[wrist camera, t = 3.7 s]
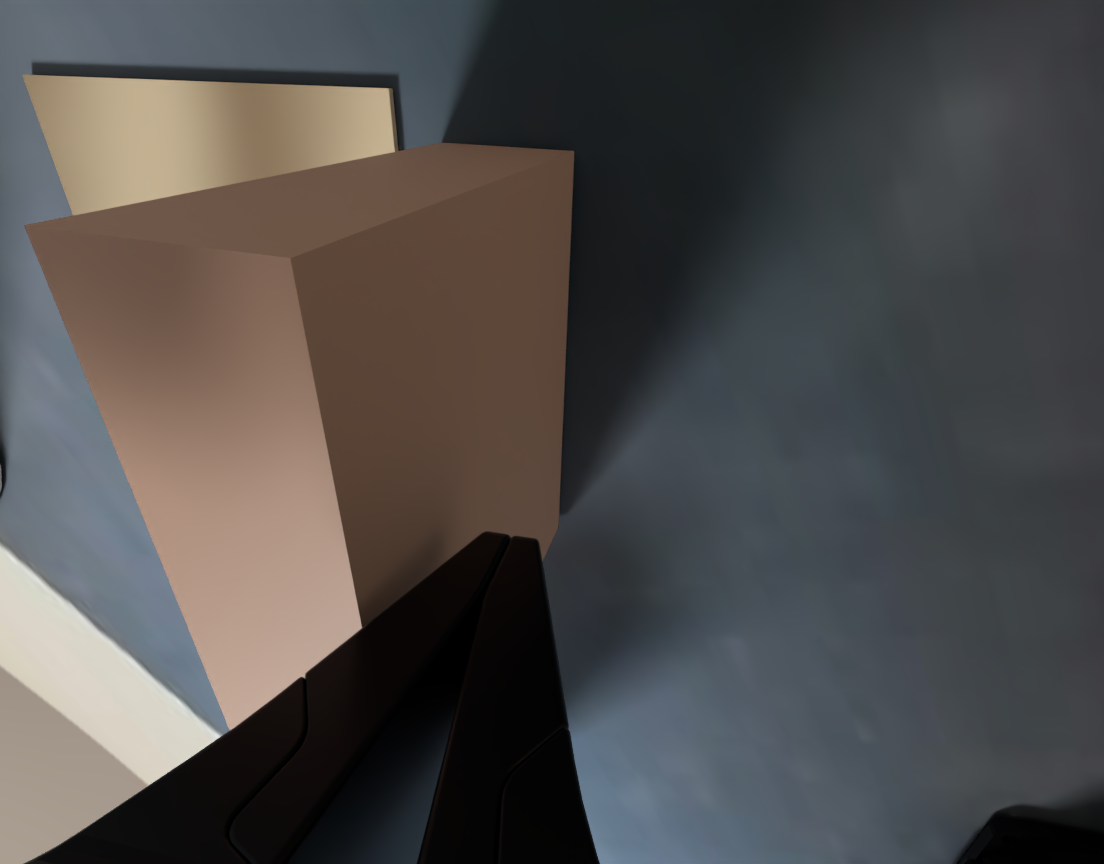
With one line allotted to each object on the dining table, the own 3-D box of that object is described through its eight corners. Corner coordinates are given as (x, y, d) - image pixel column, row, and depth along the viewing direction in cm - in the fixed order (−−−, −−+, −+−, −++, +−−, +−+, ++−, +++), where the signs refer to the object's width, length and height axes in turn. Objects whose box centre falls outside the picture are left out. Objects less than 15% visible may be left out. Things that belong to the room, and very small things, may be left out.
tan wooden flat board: (392, 87, 13) (388, 88, 13) (433, 528, 19) (431, 532, 19) (30, 74, 14) (21, 74, 14) (178, 489, 20) (174, 493, 20)
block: (574, 151, 12) (289, 258, 5) (558, 527, 18) (405, 853, 10) (434, 141, 13) (9, 223, 6) (458, 504, 18) (247, 793, 11)
